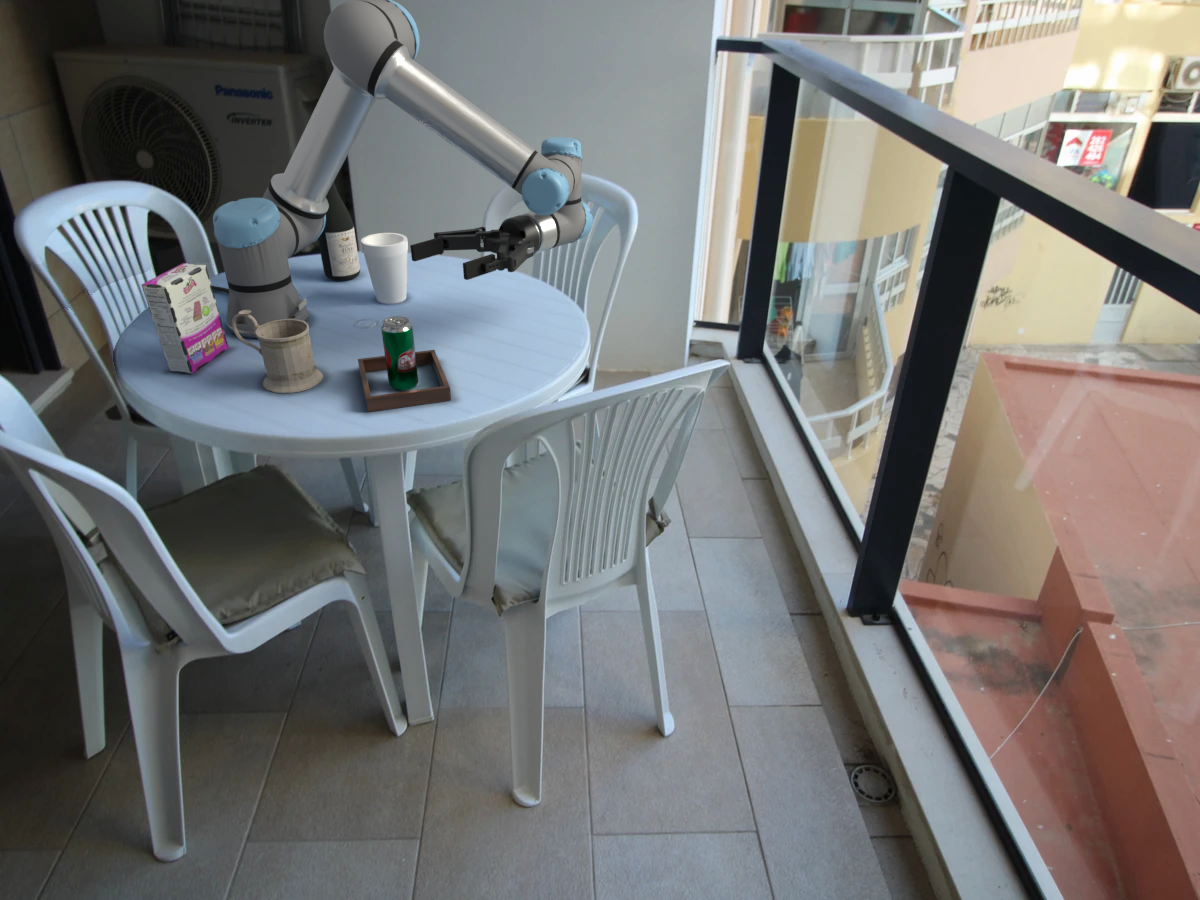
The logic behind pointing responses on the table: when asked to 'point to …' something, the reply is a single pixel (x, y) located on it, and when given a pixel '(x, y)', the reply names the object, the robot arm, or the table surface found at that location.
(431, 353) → the square wooden frame
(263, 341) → the mug
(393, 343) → the soda can
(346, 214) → the wine bottle
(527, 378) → the table surface
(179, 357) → the candy bar box
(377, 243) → the foam cup
